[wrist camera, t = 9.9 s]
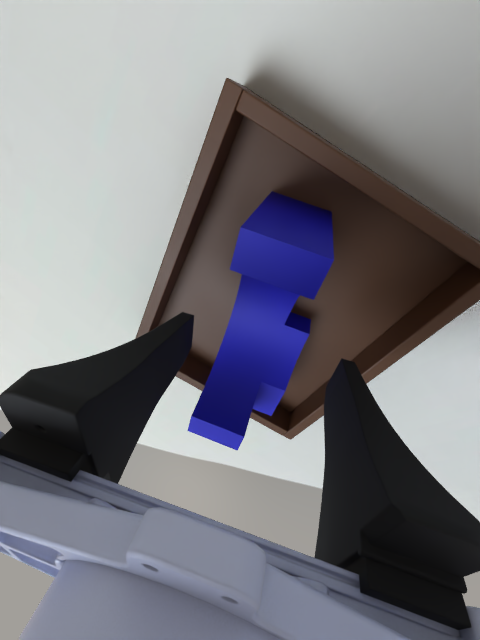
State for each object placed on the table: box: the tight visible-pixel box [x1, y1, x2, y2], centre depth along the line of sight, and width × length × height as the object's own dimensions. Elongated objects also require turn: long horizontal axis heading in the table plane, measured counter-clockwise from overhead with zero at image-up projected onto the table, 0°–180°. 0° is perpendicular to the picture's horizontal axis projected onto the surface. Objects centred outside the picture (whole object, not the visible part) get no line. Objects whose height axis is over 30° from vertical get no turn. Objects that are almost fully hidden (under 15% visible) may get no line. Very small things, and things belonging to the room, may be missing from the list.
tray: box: [136, 78, 480, 439], centre depth 16 cm, size 13×16×2 cm
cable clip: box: [188, 191, 334, 450], centre depth 14 cm, size 12×4×6 cm, turn 165°
